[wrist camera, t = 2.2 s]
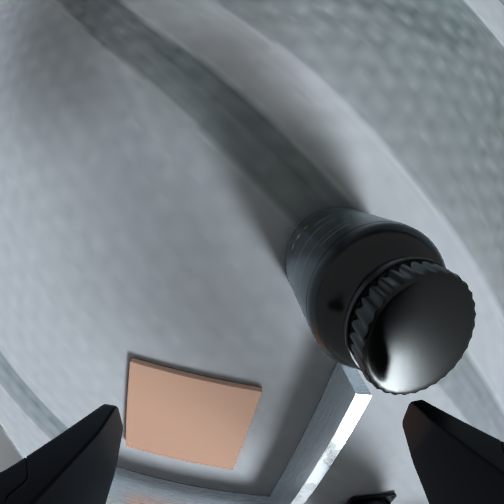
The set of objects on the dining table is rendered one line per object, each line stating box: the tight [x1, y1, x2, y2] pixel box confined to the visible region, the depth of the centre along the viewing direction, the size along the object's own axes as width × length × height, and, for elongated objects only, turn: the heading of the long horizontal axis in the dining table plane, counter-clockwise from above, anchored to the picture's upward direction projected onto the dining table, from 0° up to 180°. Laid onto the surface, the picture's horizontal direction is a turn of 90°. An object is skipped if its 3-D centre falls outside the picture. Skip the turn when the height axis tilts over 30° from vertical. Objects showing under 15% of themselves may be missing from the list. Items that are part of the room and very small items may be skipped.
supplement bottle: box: [285, 208, 476, 395], centre depth 15 cm, size 7×7×12 cm
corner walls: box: [106, 362, 372, 504], centre depth 22 cm, size 20×20×4 cm
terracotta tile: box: [126, 358, 262, 470], centre depth 23 cm, size 10×10×1 cm
